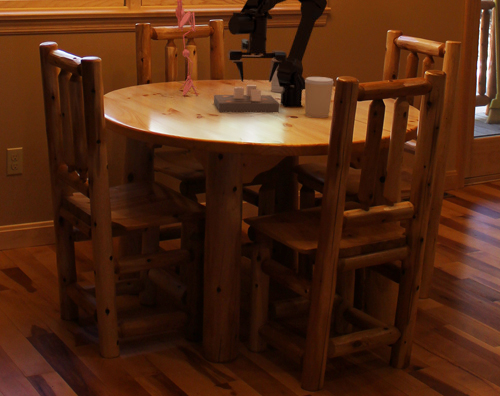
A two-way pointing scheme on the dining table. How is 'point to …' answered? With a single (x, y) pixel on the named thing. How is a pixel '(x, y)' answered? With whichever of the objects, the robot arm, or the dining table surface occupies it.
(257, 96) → the slider
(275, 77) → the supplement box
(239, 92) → the slider
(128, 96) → the dining table surface
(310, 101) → the coffee cup
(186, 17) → the figurine
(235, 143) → the dining table surface
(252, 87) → the slider
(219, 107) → the switch unit
